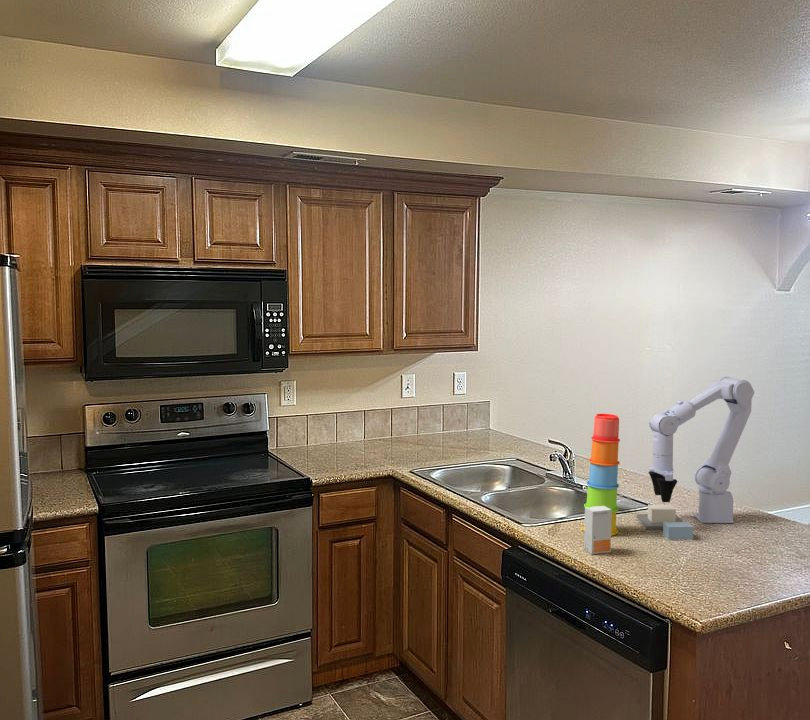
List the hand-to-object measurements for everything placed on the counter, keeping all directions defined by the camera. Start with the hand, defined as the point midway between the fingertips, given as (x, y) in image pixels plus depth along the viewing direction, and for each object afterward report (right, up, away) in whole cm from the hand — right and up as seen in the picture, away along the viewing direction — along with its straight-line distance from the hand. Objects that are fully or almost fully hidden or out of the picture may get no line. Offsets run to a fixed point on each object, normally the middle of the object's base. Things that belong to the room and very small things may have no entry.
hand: (662, 498), depth 231 cm
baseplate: (0, -8, +1) cm, 8 cm away
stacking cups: (-20, -9, -6) cm, 23 cm away
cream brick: (0, -7, +1) cm, 7 cm away
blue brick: (0, -9, -12) cm, 15 cm away
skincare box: (-25, -11, -23) cm, 36 cm away
